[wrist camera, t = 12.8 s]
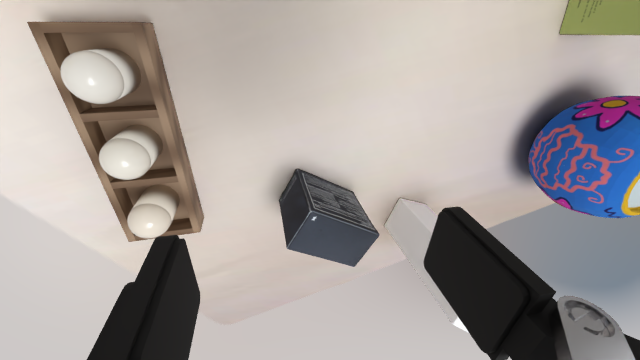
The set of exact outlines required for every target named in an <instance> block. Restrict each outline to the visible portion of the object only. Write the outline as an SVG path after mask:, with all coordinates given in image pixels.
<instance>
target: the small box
mask: <svg viewBox="0 0 640 360" xmlns="http://www.w3.org/2000/svg"><path fill="white" fill-rule="evenodd" d="M279 203H280V209H281V215H282V220H283V227H284V233H285V239H286V246H287V249H289V250H293V251H297V252H301V253H305V254H308V255H312V256H316V257H320V258H323V259H327V260H331V261H335V262H338V263H342V264H346V265H349V266H353V267H354V266H355V265H356V264H357V263H358V262H359V261H360V259H361V258H362V257H363V256H364V254H365V253H366V252H367V250H368V249H369V248H370V247H371V245H372V244H373V243H374V242H375V240H376V239H377V238H378V237H379V233H378V231H377V230H376V229H375V227H374V226H373V225H372V223H371V221H370V220H369V218H368V216H367V215H366V213H365V211H364V210H363V208H362V206H361V205H360V203H359V201H358V200H357V198H356V196H355V195H354V192H352V191H349V190H347V189H345V188H343V187H340V186H338V185H335V184H333V183H331V182H328V181H326V180H324V179H321V178H319V177H317V176H314V175H312V174H309V173H307V172H304V171H302V170H300V169H297V170H296V171H295V172H294V175H293V177H292V179H291V180H290V182H289V184H288V186H287V187H286V189H285V191H284V192H283V193H282V195H281V198H280V200H279Z"/></svg>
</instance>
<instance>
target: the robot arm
mask: <svg viewBox="0 0 640 360" xmlns="http://www.w3.org/2000/svg"><path fill="white" fill-rule="evenodd" d="M423 263H424V267H425V270H426V271H427V273H428V274H429V275H430V277H431V278H432V280H433V281H434V283H435V284H436V286H437V287H438V288H439V290H440V291H441V293H442V294H443V296H444V297H445V299H446V300H447V301H448V303H449V304H450V306H451V307H452V309H453V310H454V312H455V313H456V314H457V316H458V317H459V319H460V320H461V322H462V323H463V325H464V326H465V327H466V329H467V330H468V332H469V333H470V335H471V336H472V338H473V339H474V340H475V342H476V343H477V345H478V346H479V348H480V349H481V350H482V351H483V352H484V353H487V354H488V356H489V357H490V359H491V360H507V359H508V357H509V356H510V358H511V359H512V360H640V340H637V339H635V338H632V337H630V336H627V335H625V334H623V332H622V330H621V328H620V327H619V325H618V324H617V322H616V321H615V320H614V319H613V318H612V317H611V316H610V315H608V314H607V313H606V312H605V311H603V310H602V309H601V308H599V307H597V306H596V305H594V304H592V303H590V302H588V301H586V300H583V299H581V298H577V297H573V296H564V297H560V298H559V300H558V301H557V302H556V301H555V300H554V299H553V298H552V297H553V296H554V294H555V293H556V291H554V290H553V289H552V288H551V287H550V286H549V285H548V284H546V283H545V282H544V281H543V280H542V279H541V278H540V277H539V276H538V275H536V274H535V273H534V272H533V271H532V270H531V269H530V268H529V267H527V266H526V265H525V264H524V263H523V262H522V261H521V260H520V259H518V258H517V257H516V256H515V255H514V254H513V253H512V252H510V251H509V250H508V249H507V248H506V247H505V246H504V245H503V244H501V243H500V242H499V241H498V240H497V239H496V238H495V237H494V236H493V235H491V234H490V233H489V232H488V231H487V230H486V229H485V228H484V227H483V226H481V225H480V224H479V223H478V222H477V221H476V220H475V219H474V218H472V217H471V216H470V215H469V214H468V213H467V212H466V211H465V210H463V209H462V208H461V207H450V208H444V209H443V210H442V212H440V213H439V215H438V218H437V221H436V224H435V227H434V230H433V233H432V236H431V239H430V242H429V245H428V248H427V251H426V254H425V258H424V261H423ZM199 304H200V291H199V288H198V284H197V281H196V277H195V274H194V270H193V266H192V263H191V259H190V256H189V252H188V249H187V245H186V242H185V240H184V239H179V237H178V236H177V235H169V236H159V237H156V238H155V240H154V242H153V244H152V246H151V248H150V251H149V253H148V255H147V257H146V259H145V261H144V263H143V265H142V267H141V269H140V272H139V274H138V276H137V278H136V280H135V282H130V283H128V284H127V285H125V287H124V289H123V290H122V292H121V294H120V296H119V297H118V299H117V301H116V303H115V305H114V307H113V309H112V311H111V313H110V315H109V317H108V319H107V321H106V323H105V325H104V327H103V329H102V331H101V333H100V335H99V337H98V339H97V341H96V343H95V345H94V347H93V349H92V351H91V353H90V355H89V357H88V359H87V360H188V358H189V353H190V348H191V342H192V338H193V334H194V329H195V324H196V319H197V314H198V309H199Z"/></svg>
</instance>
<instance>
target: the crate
mask: <svg viewBox="0 0 640 360" xmlns="http://www.w3.org/2000/svg"><path fill="white" fill-rule="evenodd" d="M27 23H28V25H29V27H30V29H31V31H32V34H33V36H34V38H35V40H36V42H37V44H38V47H39V49H40V51H41V53H42V55H43V57H44V59H45V62H46V64H47V66H48V68H49V70H50V72H51V75H52V77H53V79H54V81H55V83H56V85H57V88H58V90H59V92H60V94H61V96H62V98H63V101H64V103H65V105H66V107H67V109H68V111H69V113H70V116H71V118H72V120H73V122H74V124H75V126H76V129H77V131H78V133H79V135H80V137H81V139H82V142H83V144H84V146H85V148H86V150H87V152H88V155H89V157H90V159H91V161H92V163H93V165H94V167H95V170H96V172H97V174H98V176H99V178H100V180H101V183H102V185H103V187H104V189H105V191H106V193H107V196H108V198H109V200H110V202H111V204H112V206H113V209H114V211H115V213H116V215H117V217H118V219H119V221H120V224H121V226H122V228H123V230H124V232H125V234H126V237H127V239H128V241H129V242H132V241H139V240H146V239H154V238H141V237H138V236H136V235H135V234H133V233H132V232H131V230H130V229H129V227H128V223H127V219H128V215H129V213H130V211H131V210H132V208H133V207H134V205H135V204H136V202H137V201H138V199H139V198H140V196H141V195H142V193H143V192H144V190H145V189H146V188H148V187H150V186H152V185H166V186H169V187H171V188H172V189H174V190H175V191H176V192H177V193H178V195H179V197H180V203H179V206H178V208H177V211H176V213H175V215H174V218H173V220H172V223H171V225H170V227H169V228H168V230H167V231H166V232H165V233H163V234H162V235H160V236H169V235H183V234H190V233H197V232H200V231H201V227H202V223H203V220H204V215H203V212H202V208H201V204H200V200H199V197H198V193H197V189H196V185H195V182H194V178H193V174H192V170H191V167H190V163H189V159H188V155H187V152H186V148H185V144H184V140H183V136H182V133H181V129H180V125H179V121H178V118H177V114H176V110H175V106H174V103H173V99H172V95H171V91H170V88H169V84H168V80H167V76H166V73H165V69H164V65H163V61H162V58H161V54H160V50H159V46H158V43H157V39H156V35H155V31H154V27H153V24H152V23H141V22H27ZM103 48H113V49H118V50H120V51H122V52H124V53H126V54H128V55H129V56H130V57H131V58H132V59H133V60H134V61H135V62H136V64H137V65H138V67H139V69H140V72H141V83H140V85H139V87H138V88H137V89H136V90H135V91H134V92H132V93H130V94H128V95H126V96H124V97H122V98H120V99H118V100H116V101H114V102H111V103H107V104H94V103H90V102H87V101H84V100H82V99H80V98H78V97H77V96H75V95H74V94H72V93H71V92H70V91H69V90H68V89H67V87H66V86H65V84H64V83H63V81H62V78H61V72H60V70H61V65H62V63H63V61H64V59H65V58H66V57H67V56H69V55H70V54H72V53H74V52H78V51H84V50H94V49H103ZM132 125H143V126H146V127H149V128H151V129H152V130H154V131H155V132H156V133H157V134H158V135H159V136H160V138H161V139H162V142H163V150H162V152H161V154H160V155H159V157H158V158H157V159H156V161H155V162H154V163H153V165H152V166H151V167H150V169H149V170H148V171H147V172H146V173H145V174H144V175H142V176H141V177H139V178H136V179H132V180H122V179H117V178H114V177H112V176H110V175H109V174H107V173H106V172H105V171H104V170H103V168H102V167H101V165H100V162H99V153H100V150H101V148H102V147H103V145H104V144H105V143H107V142H108V141H109V140H111V139H112V138H113V137H115V136H116V135H117V134H118V133H120V132H121V131H122V130H124V129H125V128H127V127H129V126H132ZM158 237H159V236H158ZM155 238H156V237H155Z"/></svg>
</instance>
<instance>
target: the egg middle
mask: <svg viewBox="0 0 640 360" xmlns="http://www.w3.org/2000/svg"><path fill="white" fill-rule="evenodd" d="M162 150H163V142H162V139H161V138H160V136H159V135H158V134H157V133H156V132H155V131H154V130H152V129H151V128H149V127H146V126H143V125H132V126H129V127H127V128H125V129H124V130H122V131H121V132H120V133H118V134H117V135H116V136H115V137H113V138H112V139H111V140H109V141H108V142H107V143H105V144H104V145H103V147H102V148H101V150H100V153H99V162H100V165H101V167H102V168H103V170H104V171H105V172H106V173H107V174H109V175H110V176H112V177H114V178H117V179H122V180H132V179H136V178H139V177H141V176H142V175H144V174H145V173H146V172H147V171H148V170H149V169H150V167H151V166H152V165H153V163H154V162H155V161H156V159H157V158H158V157H159V155H160V154H161V152H162Z"/></svg>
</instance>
